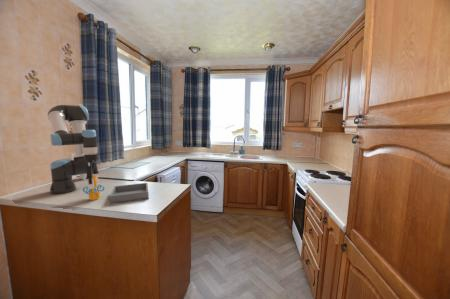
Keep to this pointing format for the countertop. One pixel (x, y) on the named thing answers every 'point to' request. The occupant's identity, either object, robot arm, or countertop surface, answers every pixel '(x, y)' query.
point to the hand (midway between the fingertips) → (93, 186)
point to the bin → (129, 193)
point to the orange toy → (94, 190)
